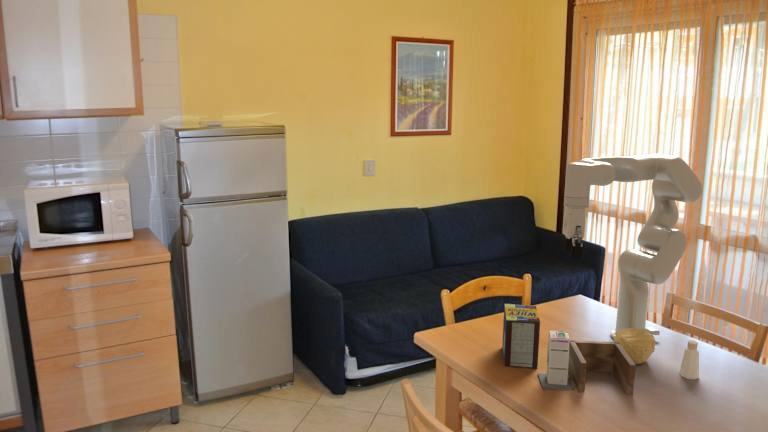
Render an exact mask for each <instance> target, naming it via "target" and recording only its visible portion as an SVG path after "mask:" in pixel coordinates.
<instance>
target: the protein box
mask: <svg viewBox="0 0 768 432" xmlns="http://www.w3.org/2000/svg"><path fill="white" fill-rule="evenodd" d="M502 327H503V328H502V345H501V347H502V356H503V358H502V359H503V360H502V361H503V366H504V367H509V368H510V367H512V368H527V369H538V364H539V349H540V336H541V335H540V334H541V333H540V330H541V319H540V316H539V312H538V309H537V305H531V304H513V303H504V307H503V326H502Z"/></svg>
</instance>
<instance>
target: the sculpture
mask: <svg viewBox="0 0 768 432" xmlns="http://www.w3.org/2000/svg"><path fill="white" fill-rule="evenodd" d="M612 342H619V343H620V345H621V346H622V347H623V349H624V350H625V351H626V353H627V354H628V355H629V357H630V358H631V360H632V361H633V362H634V364H635V365H640V364H643V363H645V362H646V361H648V360H649V359H650V357H651V356H652V354H653V353H654V352H655V349H656V348H655V347H656V344H657V342H656V338H655V335H652V334H650V333H648V332H646V331H644V330H643V329H635V328H626V329H623V330H621V331H619V332H618V333H617V334H616V336H615V338H613V341H612Z"/></svg>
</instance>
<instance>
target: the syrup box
mask: <svg viewBox="0 0 768 432" xmlns="http://www.w3.org/2000/svg"><path fill="white" fill-rule="evenodd" d="M547 339H548V341H547V354H546V355H547V356H546V357H547V358H546V361H547V362H546V373H545V374H546V376H547V382H548V384H555V385H567V382H568V375H569V370H568V366H569V345H570V340H571V339H570V335H569V332H568V331H563V330H548V337H547Z"/></svg>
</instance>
